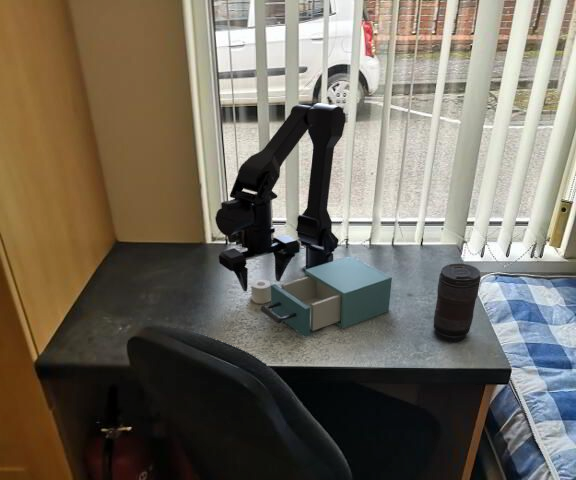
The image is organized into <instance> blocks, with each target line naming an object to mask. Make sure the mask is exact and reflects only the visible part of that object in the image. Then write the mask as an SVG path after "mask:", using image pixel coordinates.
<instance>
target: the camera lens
mask: <svg viewBox="0 0 576 480" xmlns="http://www.w3.org/2000/svg"><path fill="white" fill-rule="evenodd" d="M481 281H482V279H481V271H480V270H479V269H478V268H477V267H475V266H474V265H472V264H466V263H450V264H447V265H444V266H443V267H442V268H441V270H440V272H439V276H438V283H437V295H436V296H437V298H436V303H435V309H434V314H433V328H434V336H435V337H436V338H437V339H439V340H441V341H442V342H446V343H453V344H454V343H461V342H463V341H465V340H466V338H467V335H468V334H469V333H470V329H471V327H472V324H473V319H474V310H475V305H476V301H477V298H478V294H479V290H480V285H481Z"/></svg>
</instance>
